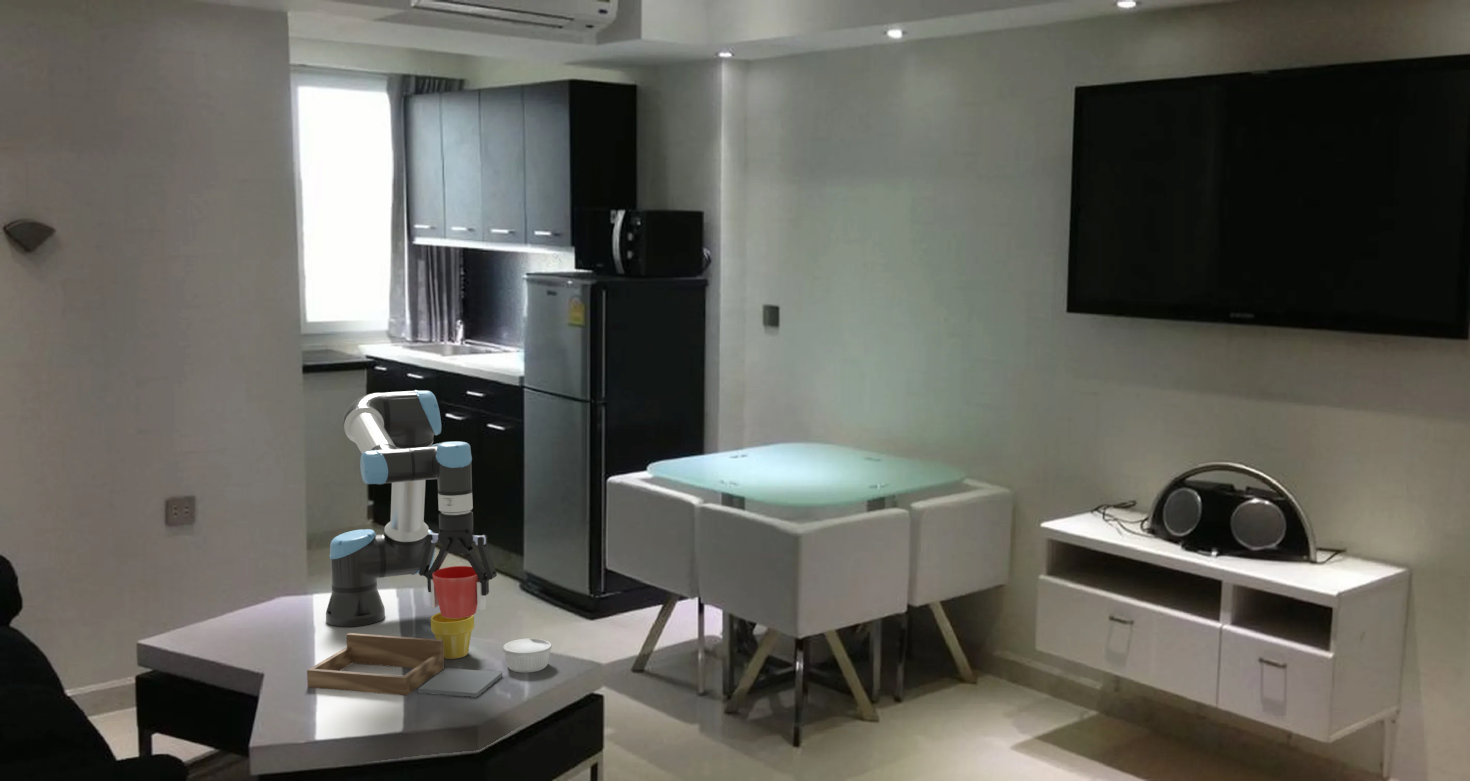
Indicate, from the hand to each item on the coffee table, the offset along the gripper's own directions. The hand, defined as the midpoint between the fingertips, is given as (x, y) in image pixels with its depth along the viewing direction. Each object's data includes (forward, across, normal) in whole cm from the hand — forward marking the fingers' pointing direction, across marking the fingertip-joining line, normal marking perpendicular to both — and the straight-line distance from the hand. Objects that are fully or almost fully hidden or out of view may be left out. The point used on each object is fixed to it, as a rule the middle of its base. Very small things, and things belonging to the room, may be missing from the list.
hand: (458, 607), depth 285 cm
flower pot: (+2, 0, 0) cm, 2 cm away
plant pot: (+18, -11, +19) cm, 28 cm away
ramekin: (+18, +10, +15) cm, 26 cm away
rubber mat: (+18, 0, 0) cm, 18 cm away
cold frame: (+18, -21, 0) cm, 28 cm away
